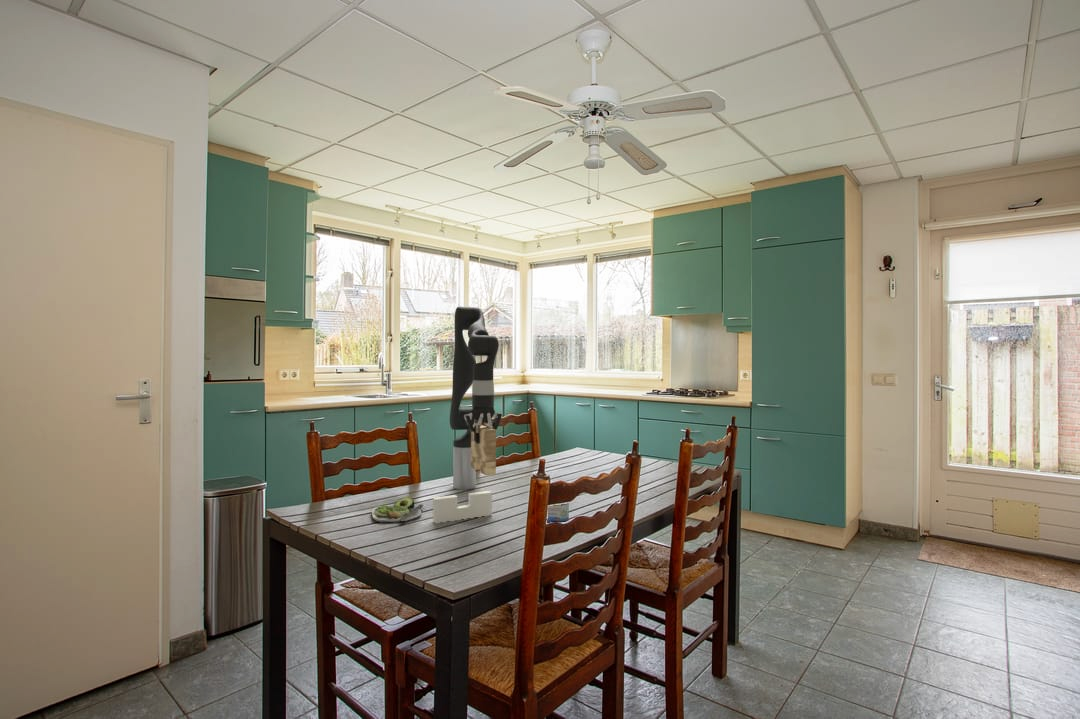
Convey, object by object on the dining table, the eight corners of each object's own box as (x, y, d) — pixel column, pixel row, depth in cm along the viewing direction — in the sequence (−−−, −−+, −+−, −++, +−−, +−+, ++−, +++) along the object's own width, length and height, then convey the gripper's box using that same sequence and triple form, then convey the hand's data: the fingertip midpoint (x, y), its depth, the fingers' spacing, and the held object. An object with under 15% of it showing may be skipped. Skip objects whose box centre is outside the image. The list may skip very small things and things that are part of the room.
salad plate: (427, 523, 180) (427, 510, 180) (371, 528, 175) (371, 514, 175) (422, 507, 199) (422, 494, 199) (371, 511, 193) (371, 498, 193)
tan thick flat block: (470, 467, 193) (471, 425, 193) (480, 466, 195) (480, 424, 194) (486, 475, 181) (486, 430, 180) (495, 474, 182) (496, 429, 182)
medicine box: (545, 522, 181) (546, 496, 181) (543, 518, 186) (543, 493, 185) (569, 521, 182) (569, 495, 182) (566, 517, 187) (566, 492, 187)
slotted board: (433, 521, 181) (433, 497, 181) (489, 513, 190) (489, 490, 190) (435, 523, 179) (435, 499, 179) (491, 515, 188) (491, 492, 188)
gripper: (497, 391, 194) (497, 439, 194) (459, 393, 187) (459, 442, 187) (506, 393, 187) (506, 443, 188) (467, 394, 181) (467, 446, 181)
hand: (482, 442), depth 188 cm, fingers closed on tan thick flat block, 3 cm apart
